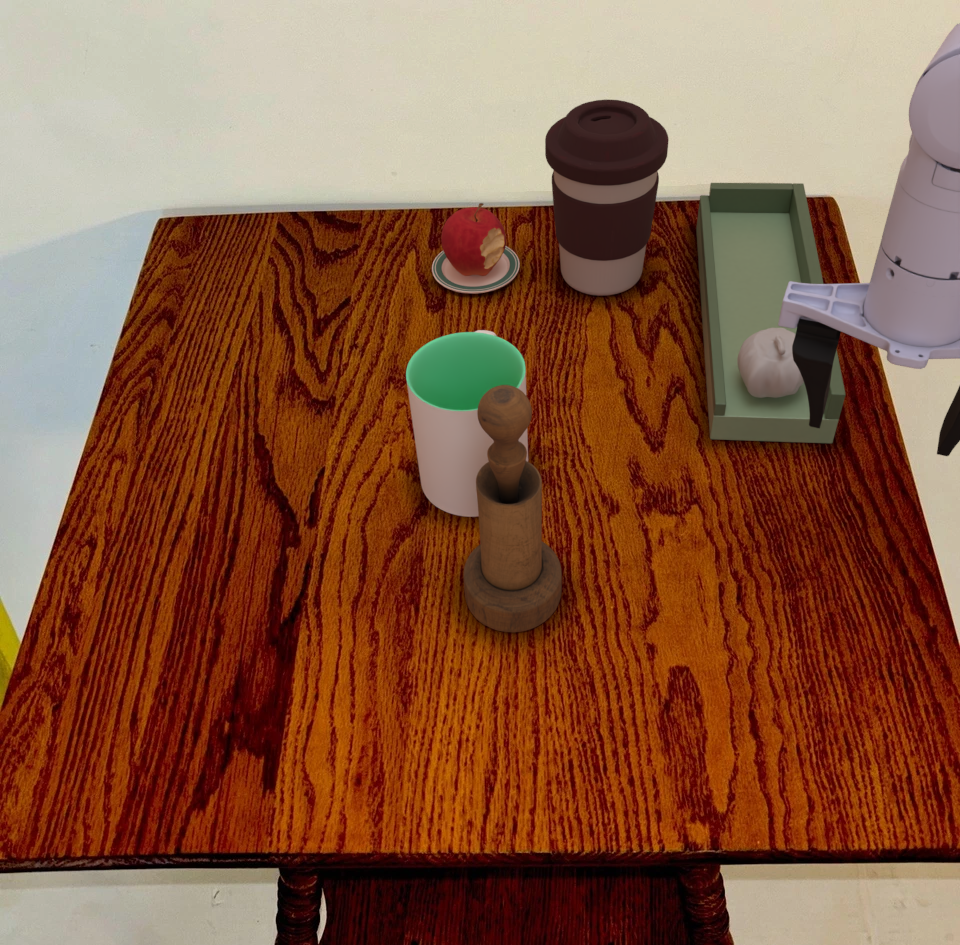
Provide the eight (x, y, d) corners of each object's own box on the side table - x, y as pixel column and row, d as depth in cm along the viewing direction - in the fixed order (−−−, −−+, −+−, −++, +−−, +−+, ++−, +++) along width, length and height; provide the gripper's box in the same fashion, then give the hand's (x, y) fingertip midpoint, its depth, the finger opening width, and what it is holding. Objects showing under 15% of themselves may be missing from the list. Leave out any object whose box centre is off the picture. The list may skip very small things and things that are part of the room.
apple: (524, 247, 97) (522, 185, 92) (514, 299, 92) (511, 236, 87) (440, 243, 98) (434, 182, 93) (425, 295, 93) (418, 233, 88)
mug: (436, 401, 83) (424, 296, 75) (536, 404, 82) (534, 298, 74) (412, 513, 75) (396, 408, 67) (523, 519, 74) (520, 413, 66)
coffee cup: (644, 315, 89) (656, 157, 78) (533, 298, 91) (530, 142, 81) (666, 250, 95) (680, 95, 84) (562, 235, 98) (562, 83, 87)
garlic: (792, 421, 76) (805, 367, 72) (721, 399, 78) (730, 346, 74) (817, 372, 79) (830, 318, 75) (748, 352, 81) (757, 299, 77)
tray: (832, 444, 77) (846, 394, 74) (710, 439, 78) (717, 390, 75) (794, 230, 96) (803, 183, 93) (696, 229, 97) (701, 182, 94)
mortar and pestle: (555, 638, 67) (556, 441, 54) (457, 628, 68) (433, 432, 55) (566, 558, 71) (568, 358, 58) (473, 549, 72) (455, 351, 59)
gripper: (785, 266, 55) (750, 447, 65) (1086, 319, 51) (999, 503, 60) (808, 196, 59) (772, 375, 69) (1087, 239, 55) (1006, 424, 65)
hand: (879, 430), depth 65 cm, fingers open, 7 cm apart
